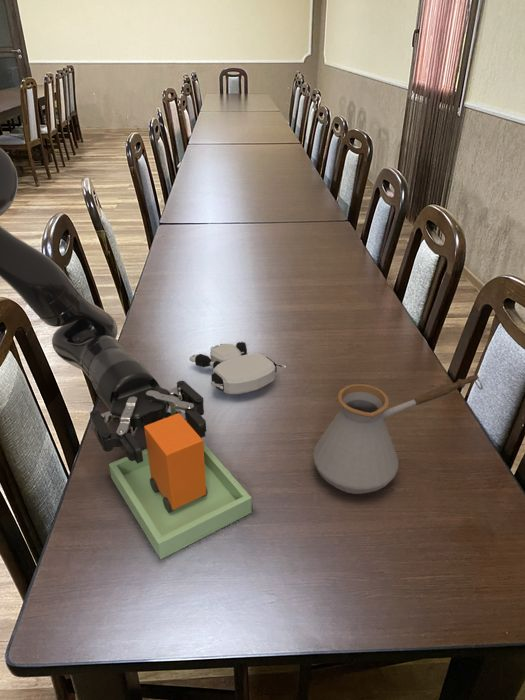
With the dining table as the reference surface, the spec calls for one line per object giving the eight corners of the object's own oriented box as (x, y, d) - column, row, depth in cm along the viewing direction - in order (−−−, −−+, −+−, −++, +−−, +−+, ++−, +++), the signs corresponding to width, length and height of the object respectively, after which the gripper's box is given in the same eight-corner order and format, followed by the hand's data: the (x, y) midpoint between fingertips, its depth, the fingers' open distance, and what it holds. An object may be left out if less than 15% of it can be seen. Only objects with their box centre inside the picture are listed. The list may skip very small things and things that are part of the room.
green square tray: (251, 512, 68) (251, 497, 67) (160, 559, 62) (158, 544, 61) (193, 444, 79) (192, 430, 78) (111, 478, 73) (108, 463, 72)
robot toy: (186, 371, 97) (224, 410, 86) (183, 349, 95) (223, 385, 84) (245, 353, 103) (288, 387, 91) (244, 332, 101) (288, 364, 89)
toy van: (209, 499, 69) (205, 439, 64) (170, 517, 67) (164, 456, 62) (185, 468, 74) (180, 410, 69) (148, 484, 71) (140, 425, 66)
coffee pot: (322, 509, 69) (331, 416, 61) (303, 449, 78) (309, 362, 71) (479, 492, 71) (506, 401, 64) (441, 436, 81) (462, 351, 73)
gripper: (69, 375, 72) (113, 442, 61) (165, 346, 79) (221, 400, 68) (78, 419, 76) (121, 489, 65) (169, 388, 83) (223, 446, 72)
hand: (172, 444), depth 66 cm, fingers open, 8 cm apart
